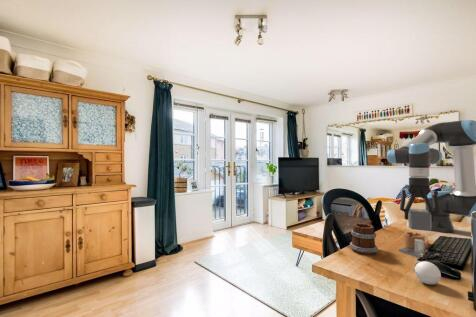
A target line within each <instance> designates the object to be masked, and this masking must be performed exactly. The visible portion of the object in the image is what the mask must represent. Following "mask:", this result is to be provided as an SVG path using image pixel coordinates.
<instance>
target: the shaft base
mask: <svg viewBox="0 0 476 317" xmlns="http://www.w3.org/2000/svg"><path fill="white" fill-rule="evenodd" d="M428 250H429V249H424V241H423V240H419V239H415V248H412V247H406V248H405V247H401V248H399V249H398V251H399V252H401V253H403V254H406V255H409V256H412V257H415V258H418V259H420V257H423V255H424V254H425V252H427V251H428ZM439 254H440V253H439V252H436V253H435V254H434V255H439Z"/></svg>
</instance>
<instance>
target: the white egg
mask: <svg viewBox="0 0 476 317" xmlns="http://www.w3.org/2000/svg"><path fill="white" fill-rule="evenodd" d="M413 271H414V274H415V277H416V278H417V279H418V280H419V281H420V282H421V283H423V284H426V285H429V286H430V285H435V284H438V283H439V282H440V281H441V278H442V275H441V271H440V269H439V267H438V266H437V265H436V264H434V263H432V262H430V261H426V260H424V261H419V262H418V263H416V265H415V266H414V269H413Z"/></svg>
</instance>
